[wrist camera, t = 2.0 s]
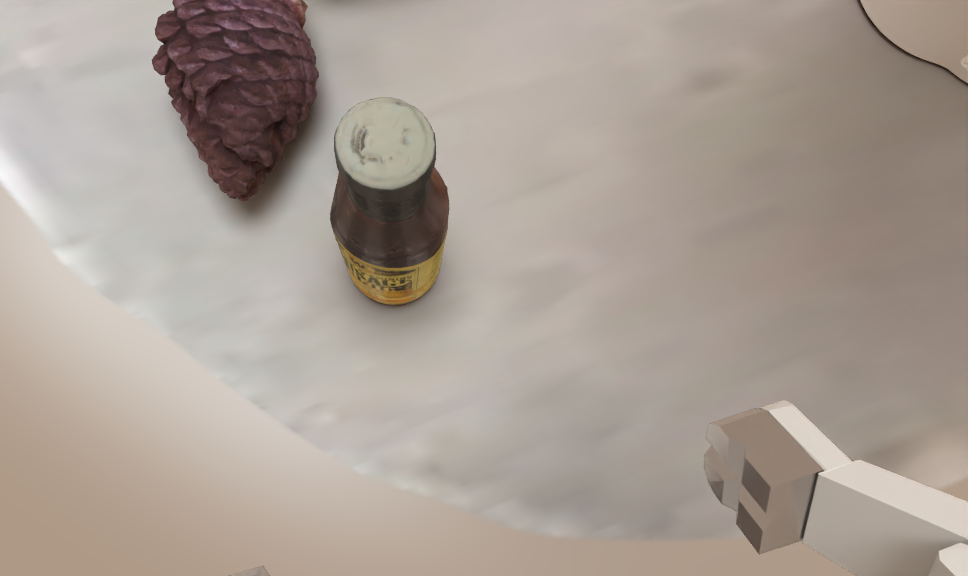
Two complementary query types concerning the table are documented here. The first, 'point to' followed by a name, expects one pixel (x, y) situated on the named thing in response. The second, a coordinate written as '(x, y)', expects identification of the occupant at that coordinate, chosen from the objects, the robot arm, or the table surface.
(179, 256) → the table surface
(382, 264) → the sauce bottle
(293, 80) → the pine cone
